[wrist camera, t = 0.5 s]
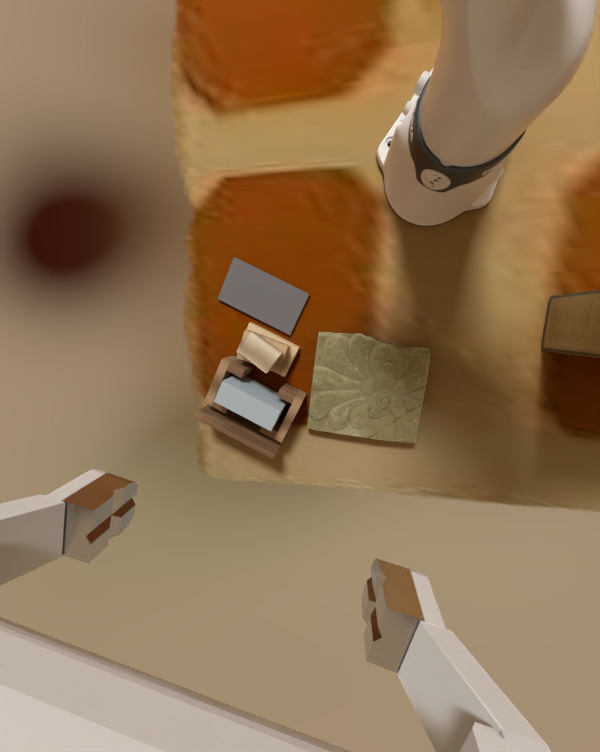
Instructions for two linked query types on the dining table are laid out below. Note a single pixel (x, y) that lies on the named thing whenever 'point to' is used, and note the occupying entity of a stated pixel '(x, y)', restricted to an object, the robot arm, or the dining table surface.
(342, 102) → the dining table surface
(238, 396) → the light blue rectangular block
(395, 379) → the decorative tile
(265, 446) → the rack
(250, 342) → the offcut top
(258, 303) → the mat
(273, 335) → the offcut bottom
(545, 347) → the food packaging
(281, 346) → the offcut middle
